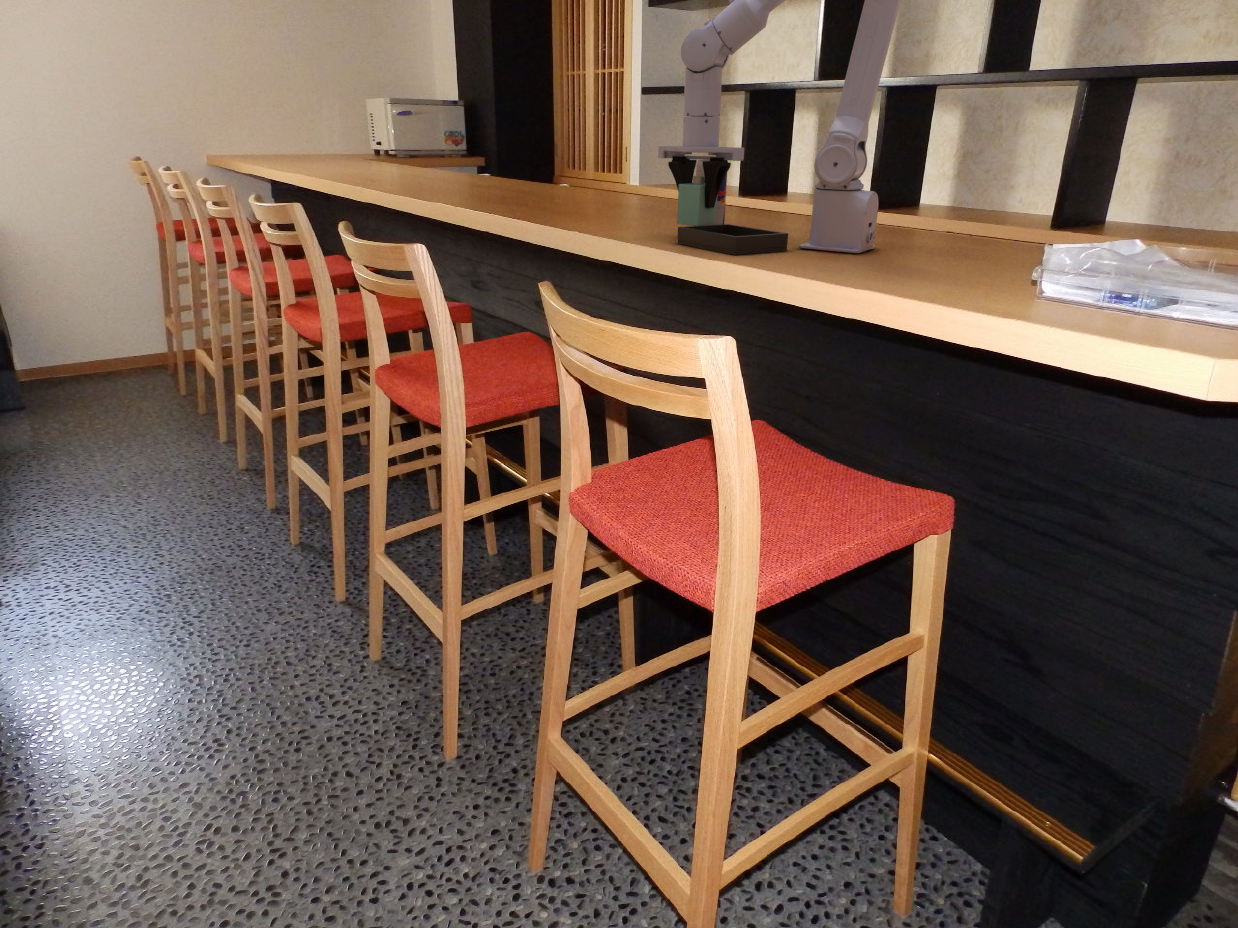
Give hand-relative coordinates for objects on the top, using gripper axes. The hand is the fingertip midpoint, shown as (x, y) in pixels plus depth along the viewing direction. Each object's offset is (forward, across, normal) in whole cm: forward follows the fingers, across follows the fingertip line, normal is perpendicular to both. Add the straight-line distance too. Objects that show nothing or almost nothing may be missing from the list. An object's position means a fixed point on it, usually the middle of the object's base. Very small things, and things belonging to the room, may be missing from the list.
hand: (697, 207), depth 137 cm
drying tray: (+5, -9, +5) cm, 11 cm away
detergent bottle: (+3, 0, 0) cm, 3 cm away
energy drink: (+5, +3, -10) cm, 12 cm away
